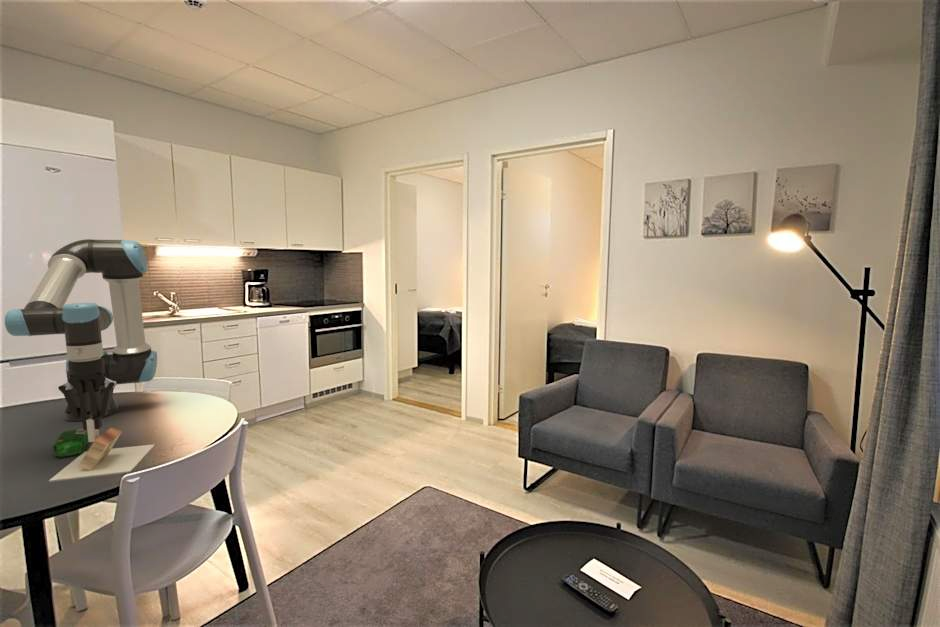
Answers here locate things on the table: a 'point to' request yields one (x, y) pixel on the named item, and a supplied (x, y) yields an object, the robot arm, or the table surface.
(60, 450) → the snack package
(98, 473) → the cream board
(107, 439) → the oak slab
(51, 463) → the table surface
